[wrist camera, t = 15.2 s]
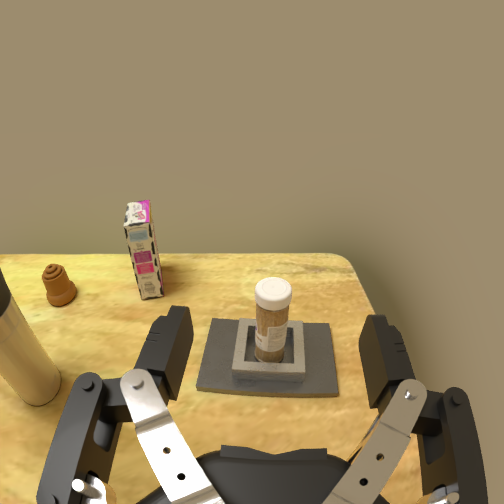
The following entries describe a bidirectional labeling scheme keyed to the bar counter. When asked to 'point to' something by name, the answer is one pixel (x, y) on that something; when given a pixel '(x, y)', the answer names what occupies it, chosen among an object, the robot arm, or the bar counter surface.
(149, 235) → the candy bar box
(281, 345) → the sprinkles bottle
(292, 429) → the bar counter surface
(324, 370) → the collar socket
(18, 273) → the bar counter surface
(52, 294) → the ornamental finial
